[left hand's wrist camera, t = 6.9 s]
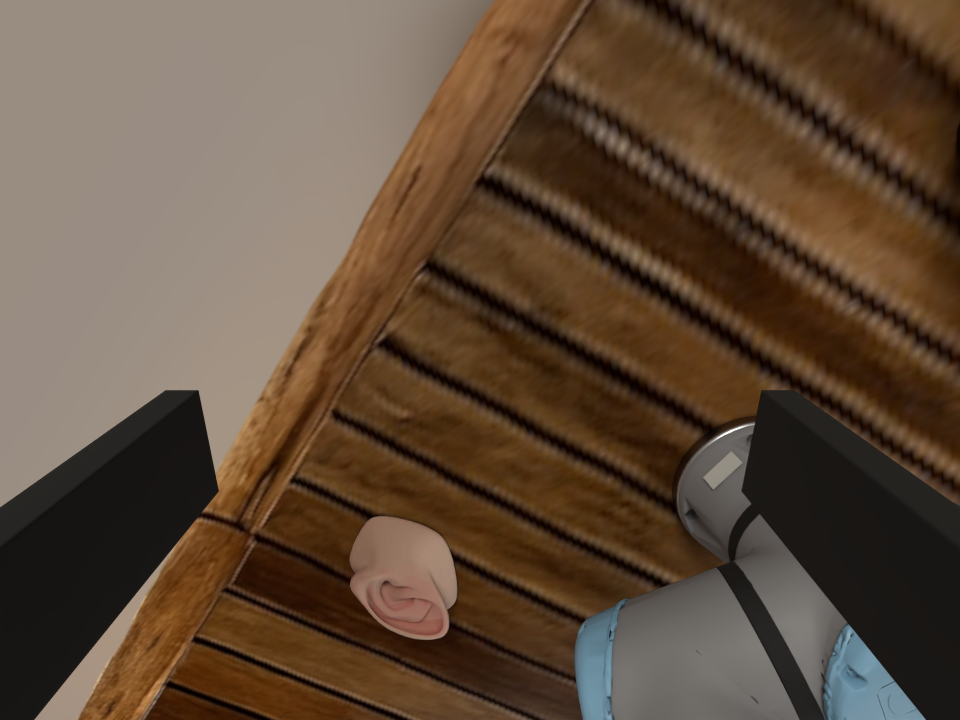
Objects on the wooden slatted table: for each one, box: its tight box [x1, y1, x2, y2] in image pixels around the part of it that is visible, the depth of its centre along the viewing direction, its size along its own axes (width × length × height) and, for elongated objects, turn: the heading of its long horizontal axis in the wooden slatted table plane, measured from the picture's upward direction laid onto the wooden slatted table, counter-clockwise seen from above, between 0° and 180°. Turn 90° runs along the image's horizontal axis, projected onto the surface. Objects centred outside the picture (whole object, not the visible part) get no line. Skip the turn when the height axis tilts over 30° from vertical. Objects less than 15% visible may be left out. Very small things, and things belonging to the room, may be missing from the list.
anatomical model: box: [350, 516, 457, 640], centre depth 55 cm, size 13×4×12 cm
